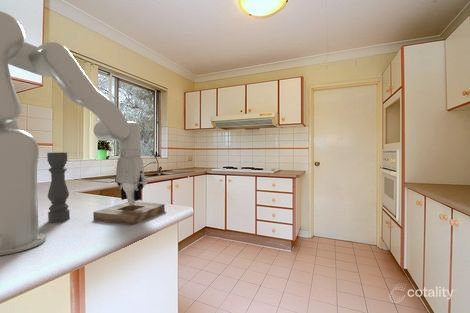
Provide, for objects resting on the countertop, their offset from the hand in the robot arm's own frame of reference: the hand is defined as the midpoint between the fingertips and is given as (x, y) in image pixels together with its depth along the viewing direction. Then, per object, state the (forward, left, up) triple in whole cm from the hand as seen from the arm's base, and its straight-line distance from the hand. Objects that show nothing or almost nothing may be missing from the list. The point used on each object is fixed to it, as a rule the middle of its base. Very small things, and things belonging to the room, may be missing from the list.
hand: (131, 199), depth 87 cm
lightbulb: (0, 0, -3) cm, 3 cm away
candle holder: (-13, +21, -7) cm, 26 cm away
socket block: (0, 0, -6) cm, 6 cm away
